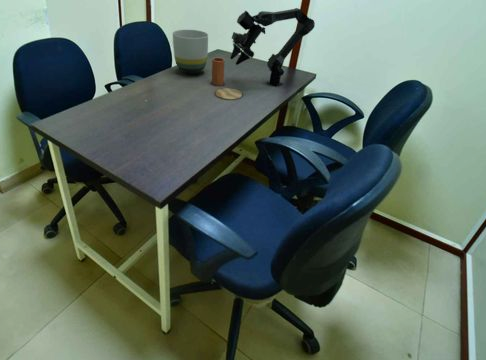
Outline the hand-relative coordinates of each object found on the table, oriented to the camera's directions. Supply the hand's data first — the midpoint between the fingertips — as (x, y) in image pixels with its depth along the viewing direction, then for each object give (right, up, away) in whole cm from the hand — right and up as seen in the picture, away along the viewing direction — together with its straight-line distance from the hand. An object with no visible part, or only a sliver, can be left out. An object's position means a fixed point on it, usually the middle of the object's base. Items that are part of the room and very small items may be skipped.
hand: (233, 61), depth 159 cm
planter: (-25, +1, +20) cm, 33 cm away
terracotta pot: (-9, -8, +10) cm, 16 cm away
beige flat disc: (-2, -18, -1) cm, 18 cm away
